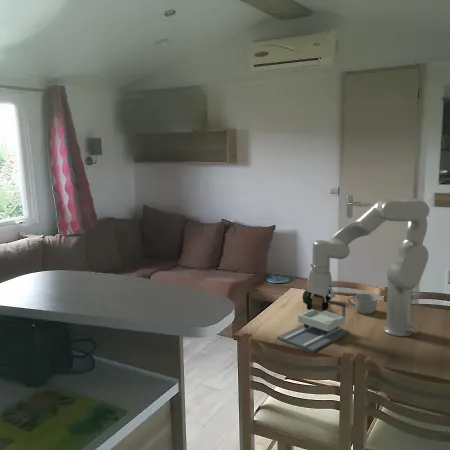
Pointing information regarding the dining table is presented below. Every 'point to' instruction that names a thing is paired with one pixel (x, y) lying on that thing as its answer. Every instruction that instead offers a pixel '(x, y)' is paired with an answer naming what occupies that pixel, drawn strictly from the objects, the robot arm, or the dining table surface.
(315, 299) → the walnut block
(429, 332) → the dining table surface
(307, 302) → the toy figurine
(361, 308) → the teacup
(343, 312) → the shallow sage tray
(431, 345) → the dining table surface
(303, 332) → the track
